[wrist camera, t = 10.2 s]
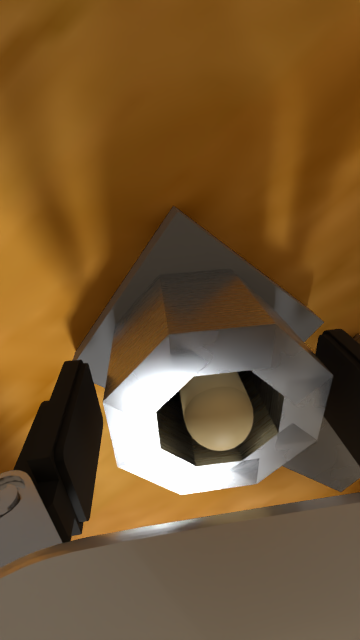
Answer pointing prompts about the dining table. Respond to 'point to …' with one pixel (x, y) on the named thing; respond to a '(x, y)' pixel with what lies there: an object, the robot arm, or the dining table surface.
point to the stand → (327, 459)
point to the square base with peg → (207, 390)
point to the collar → (205, 359)
